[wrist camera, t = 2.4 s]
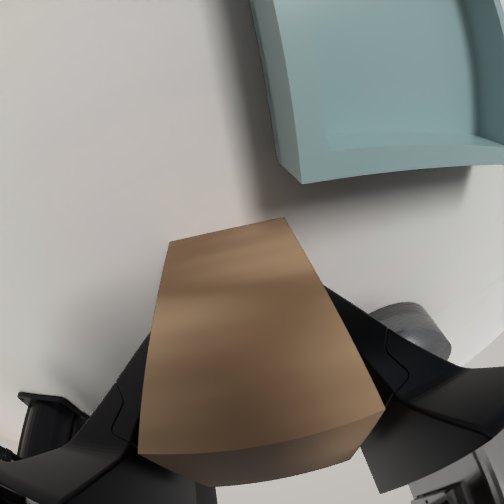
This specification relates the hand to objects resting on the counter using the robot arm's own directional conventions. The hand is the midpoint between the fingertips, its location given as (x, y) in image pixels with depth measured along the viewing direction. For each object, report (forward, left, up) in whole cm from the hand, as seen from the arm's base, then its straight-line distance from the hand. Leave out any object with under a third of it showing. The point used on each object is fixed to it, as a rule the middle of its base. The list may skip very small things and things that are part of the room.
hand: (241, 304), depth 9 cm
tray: (+7, +9, -2) cm, 12 cm away
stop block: (0, 0, -2) cm, 2 cm away
